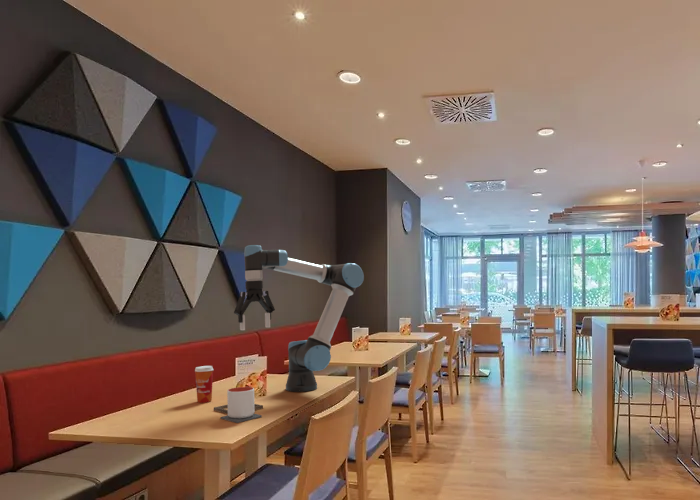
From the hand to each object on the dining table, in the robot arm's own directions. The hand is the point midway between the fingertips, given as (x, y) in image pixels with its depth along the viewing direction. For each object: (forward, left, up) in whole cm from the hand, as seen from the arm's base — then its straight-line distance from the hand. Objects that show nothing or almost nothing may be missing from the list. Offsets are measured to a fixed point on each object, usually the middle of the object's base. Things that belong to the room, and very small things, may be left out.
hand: (255, 329), depth 230 cm
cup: (+21, +19, -31) cm, 42 cm away
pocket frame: (+14, +6, -31) cm, 35 cm away
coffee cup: (+14, -20, -31) cm, 40 cm away
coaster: (+21, +19, -31) cm, 42 cm away
